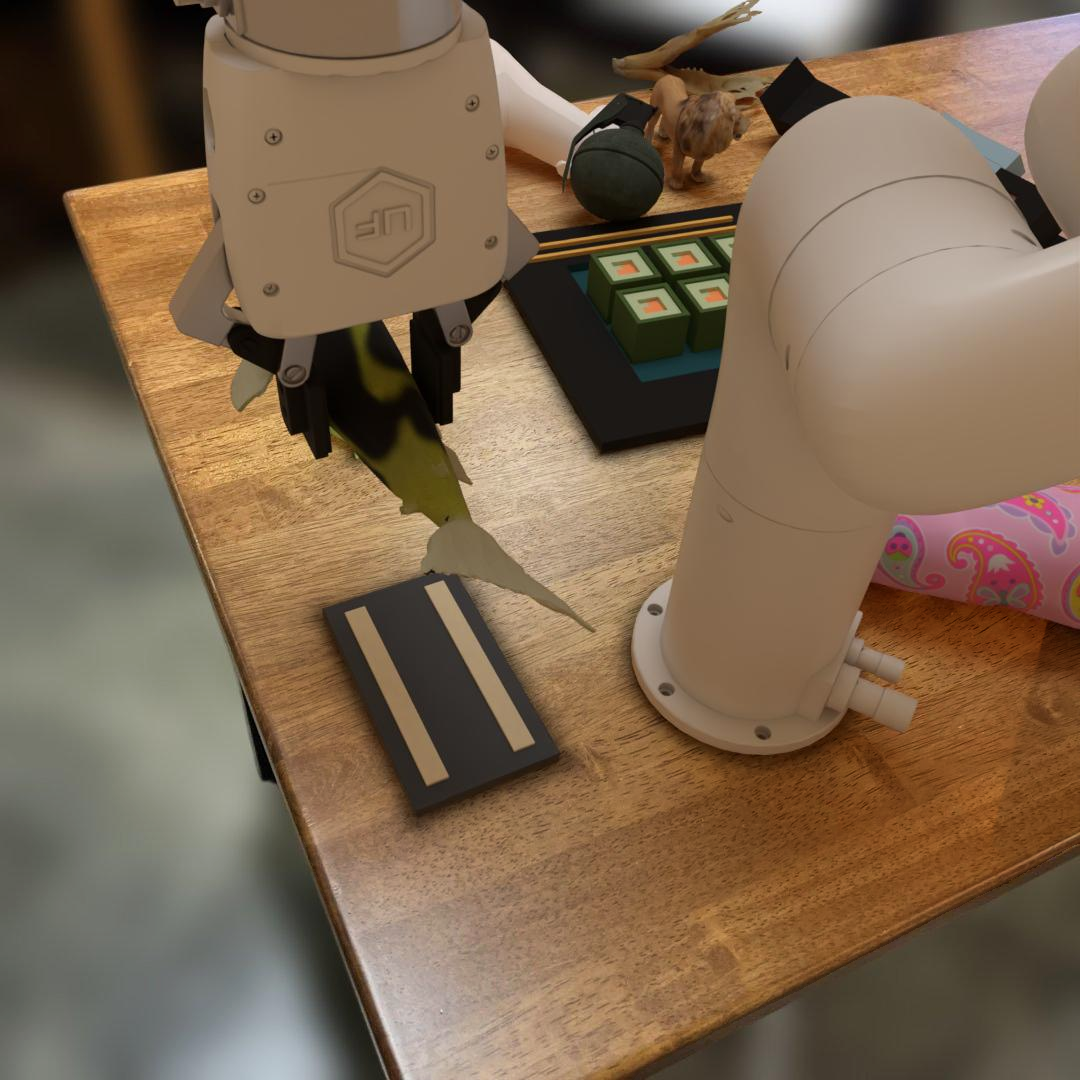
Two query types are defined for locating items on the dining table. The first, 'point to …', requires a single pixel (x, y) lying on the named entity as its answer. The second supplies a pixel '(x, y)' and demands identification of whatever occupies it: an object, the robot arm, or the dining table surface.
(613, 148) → the grenade
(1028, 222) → the toy
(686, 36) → the jawbone
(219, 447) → the dining table surface
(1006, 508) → the pencil case
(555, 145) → the faucet
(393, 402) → the fish
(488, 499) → the dining table surface
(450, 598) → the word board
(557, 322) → the sushi
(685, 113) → the lion figurine
